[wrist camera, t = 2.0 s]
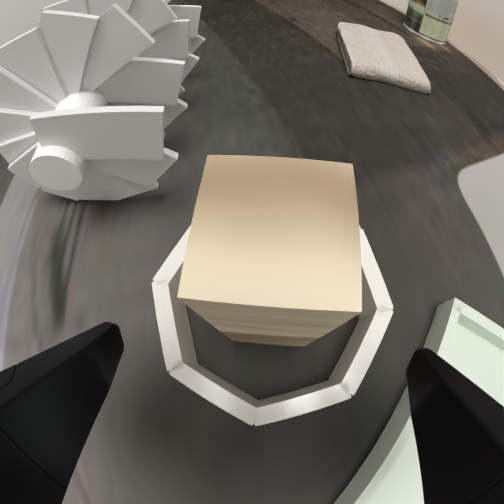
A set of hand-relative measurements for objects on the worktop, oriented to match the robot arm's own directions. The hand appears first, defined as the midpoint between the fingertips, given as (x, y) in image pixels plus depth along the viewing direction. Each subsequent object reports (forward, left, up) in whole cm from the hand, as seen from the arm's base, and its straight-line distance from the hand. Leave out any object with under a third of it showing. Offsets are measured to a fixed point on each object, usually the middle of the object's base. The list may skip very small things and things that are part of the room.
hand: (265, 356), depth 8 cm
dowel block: (+3, +1, -10) cm, 11 cm away
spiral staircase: (+12, +23, -11) cm, 28 cm away
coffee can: (+68, -2, -11) cm, 69 cm away
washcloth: (+42, +4, -11) cm, 44 cm away
